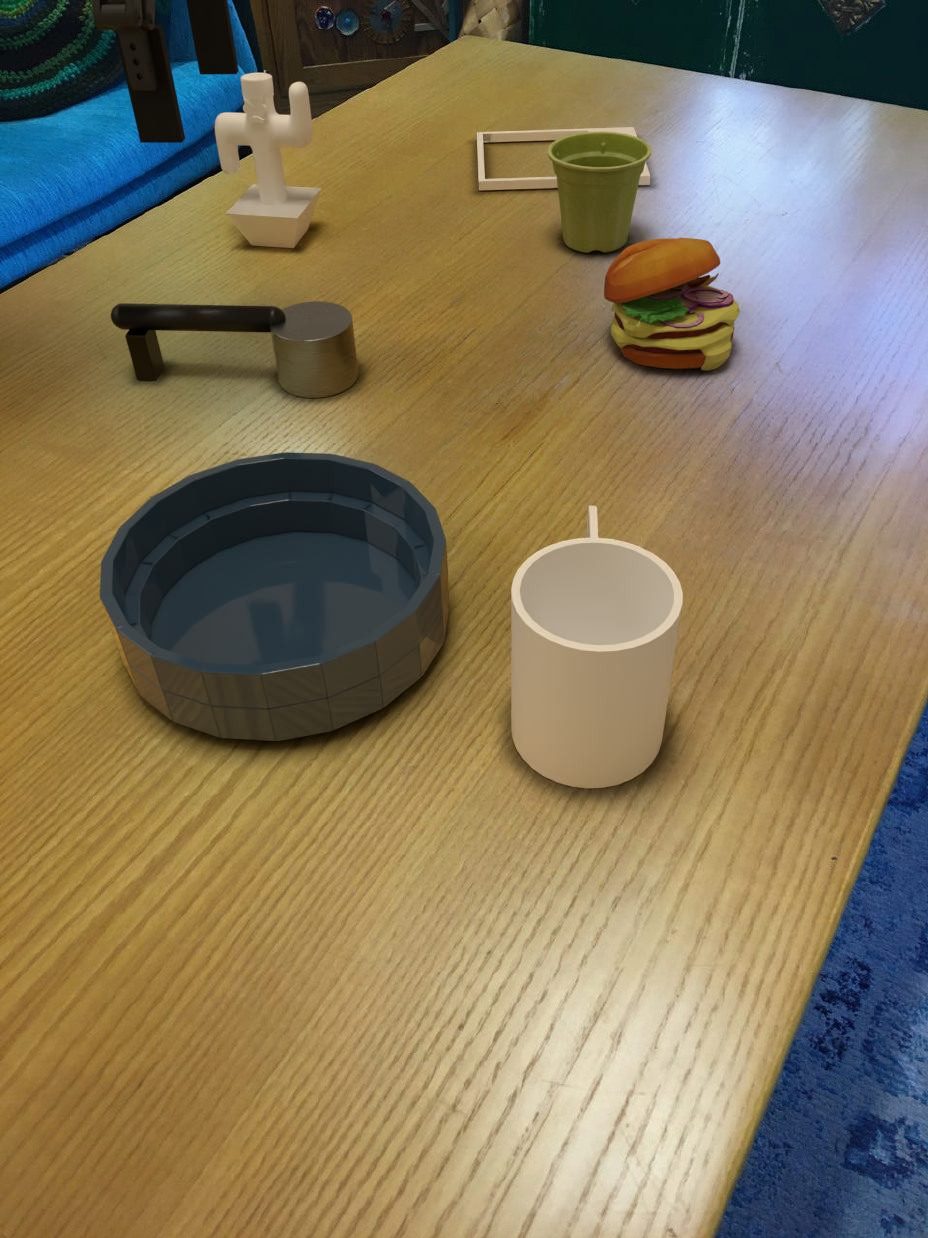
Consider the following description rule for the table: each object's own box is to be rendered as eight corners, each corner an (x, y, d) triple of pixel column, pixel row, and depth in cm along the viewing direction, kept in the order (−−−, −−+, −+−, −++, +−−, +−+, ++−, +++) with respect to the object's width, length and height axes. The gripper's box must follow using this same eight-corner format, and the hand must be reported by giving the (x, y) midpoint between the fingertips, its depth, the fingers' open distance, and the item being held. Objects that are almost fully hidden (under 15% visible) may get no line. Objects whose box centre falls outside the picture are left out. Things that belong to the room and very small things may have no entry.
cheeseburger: (680, 395, 82) (668, 265, 76) (584, 373, 90) (567, 254, 84) (765, 348, 86) (759, 223, 81) (667, 331, 94) (655, 216, 89)
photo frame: (650, 173, 111) (478, 179, 111) (649, 184, 112) (478, 190, 112) (633, 124, 122) (476, 130, 122) (633, 135, 122) (476, 140, 123)
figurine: (248, 219, 109) (220, 60, 99) (336, 224, 107) (317, 63, 97) (221, 249, 104) (189, 85, 93) (313, 256, 102) (291, 89, 92)
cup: (652, 629, 63) (670, 493, 57) (667, 791, 55) (690, 653, 48) (515, 626, 64) (515, 491, 57) (508, 786, 55) (508, 649, 48)
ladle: (364, 357, 88) (357, 289, 84) (351, 399, 83) (342, 329, 79) (139, 352, 90) (121, 285, 85) (114, 393, 85) (94, 324, 81)
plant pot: (525, 242, 103) (526, 150, 97) (589, 212, 107) (593, 122, 102) (599, 271, 98) (605, 176, 92) (663, 239, 102) (672, 146, 97)
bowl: (78, 740, 59) (46, 663, 54) (180, 521, 72) (160, 447, 68) (428, 759, 57) (421, 683, 53) (463, 531, 71) (460, 457, 67)
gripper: (100, -299, 48) (195, 175, 63) (237, -324, 66) (286, 48, 81) (-57, -293, 49) (73, 174, 64) (121, -320, 67) (191, 49, 82)
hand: (193, 104), depth 72 cm, fingers open, 13 cm apart
